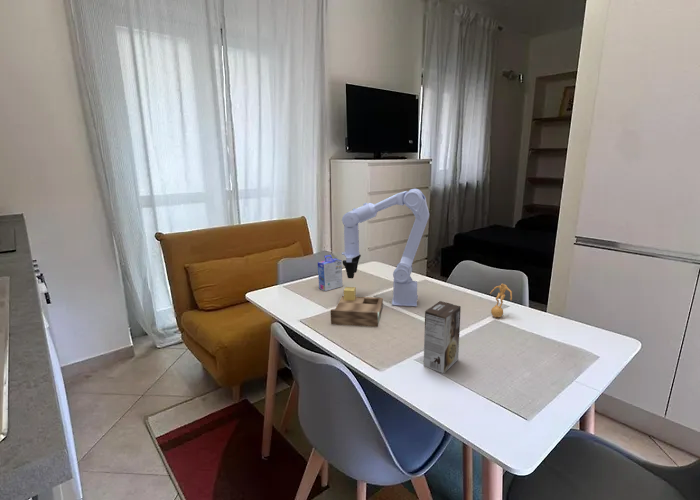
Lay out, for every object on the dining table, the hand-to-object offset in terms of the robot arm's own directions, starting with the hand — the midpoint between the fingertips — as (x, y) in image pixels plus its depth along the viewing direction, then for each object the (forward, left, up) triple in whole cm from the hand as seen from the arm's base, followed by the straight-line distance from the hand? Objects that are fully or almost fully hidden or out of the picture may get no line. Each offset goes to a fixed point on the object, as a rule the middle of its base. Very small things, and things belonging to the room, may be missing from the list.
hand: (352, 275), depth 150 cm
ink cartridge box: (+12, -12, -10) cm, 20 cm away
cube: (0, +7, -7) cm, 10 cm away
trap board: (-5, +15, -10) cm, 18 cm away
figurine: (-54, +11, -10) cm, 56 cm away
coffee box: (-32, +46, -10) cm, 57 cm away
